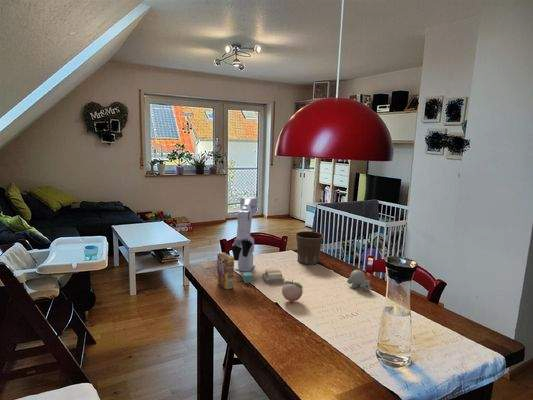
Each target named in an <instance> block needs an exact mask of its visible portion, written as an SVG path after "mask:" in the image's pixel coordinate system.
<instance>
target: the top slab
mask: <svg viewBox="0 0 533 400" xmlns="http://www.w3.org/2000/svg"><path fill="white" fill-rule="evenodd" d="M264 271H265V272H264V273H265V275H266V276H267V278H268V280H269V279H282V277H283V272H282V271H281V270H280V268H266V269H265V270H264Z"/></svg>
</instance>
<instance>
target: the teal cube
mask: <svg viewBox="0 0 533 400" xmlns="http://www.w3.org/2000/svg"><path fill="white" fill-rule="evenodd" d="M242 281H243V283H244V284H252V283H253V273H252V272H251V271H249V272H247V271H244V272H242Z"/></svg>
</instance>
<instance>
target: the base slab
mask: <svg viewBox="0 0 533 400" xmlns="http://www.w3.org/2000/svg"><path fill="white" fill-rule="evenodd" d="M261 276H262V279H263V280H264V282H265V284H266V285H267V284H270V285H271V284H281V283H282V284H284V283H283V282H284V281H285V278H284V276H282V279H269V280H268V278H267V276H266V275H265V272H262V275H261Z"/></svg>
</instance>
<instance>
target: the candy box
mask: <svg viewBox="0 0 533 400" xmlns="http://www.w3.org/2000/svg"><path fill="white" fill-rule="evenodd" d="M216 269H217V272H216V274H217V275H216V278H217V280H216V283H217V285H219V286H220V287H222V288H223V289H226V290H230V289H233V288H234V283H235V281H234V280H235V260H234V257H233V255H230V254H228V253H226V252H219V253H217V267H216Z"/></svg>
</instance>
